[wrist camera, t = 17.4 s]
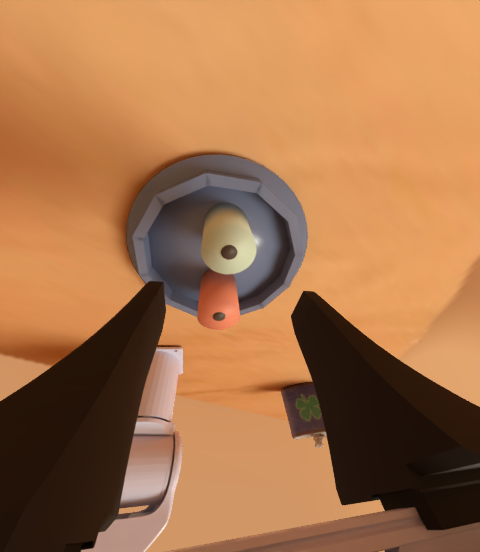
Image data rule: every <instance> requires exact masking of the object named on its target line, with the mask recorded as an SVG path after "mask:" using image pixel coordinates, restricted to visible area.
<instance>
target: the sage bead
mask: <svg viewBox="0 0 480 552" xmlns="http://www.w3.org/2000/svg"><path fill="white" fill-rule="evenodd" d="M201 255H202V258H203V261H204V262H205V264H206V265H207V266H208V267H209V268H210V269H212V270H213V271H215V272H218V273H221V274H235V273H239V272H241V271H243V270H245V269H246V268H248V267H249V266H250V265H251V264H252V262H253V261H254V259H255V256H256V244H255V241H254V238H253V235H252V232H251V229H250V226H249V223H248V220H247V218H246V215H245V213H244V212H243V210H242V209H241V208H239V207H238V206H236V205H234V204H231V203H220V204H217V205H215V206H213V207H212V208H211V209H210V210H209V211H208V213H207V214H206V216H205V220H204V229H203V237H202V246H201Z"/></svg>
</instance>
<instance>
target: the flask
mask: <svg viewBox="0 0 480 552" xmlns="http://www.w3.org/2000/svg"><path fill="white" fill-rule="evenodd" d="M281 394H282V397H283V401H284V405H285V409H286V413H287V416H288V421H289V424H290V428H291V433H292V437H293V439H296V440H297V439H302V438H308V437H314V440H315V442H316V444H315V447H323V446H324V445H323V444H322V439H323V438H324V437H325V438H327V436H325V435H326V431H325V426H324V422H323V418H322V413H321V409H320V405H319V401H318V398H317V394H316V391H315V387H314V383H313V382H309V383H302V384H297V385H293V386H287V387H285V388H282V389H281Z"/></svg>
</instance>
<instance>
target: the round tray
mask: <svg viewBox="0 0 480 552" xmlns="http://www.w3.org/2000/svg"><path fill="white" fill-rule="evenodd" d="M220 203H231V204H234V205H236V206H238V207H239V208H241V209H242V210H243V212H244V213H245V215H246V218H247V220H248V223H249V226H250V229H251V232H252V235H253V238H254V241H255V244H256V256H255V259H254V261H253V262H252V264H251V265H250V266H249V267H248V268H246V269H245V270H243V271H241V272H239V273H235V274H233V275H234V277H235V280H236V287H237V295H238V302H239V310H240V315H243V314H246V313H249V312H252V311H255V310H258V309H262V308H264V307H265V306H267V305H268V304H269V303H270V302H271V301H273V300H274V299H275V298H276V297H277V296H279V295H280V294H281V293H282V292H283V291H285V290H286V289H287V288H288V287H289V286H290V284H291V282H292V280H293V278H294V277H295V275H296V274H297V272H298V270H299V268H300V266H301V264H302V262H303V259H304V256H305V252H306V248H307V238H308V234H307V223H306V219H305V214H304V212H303V209H302V207H301V204H300V202H299V201H298V199H297V197H296V196H295V194H294V193H293V191H292V190H291V189H290V188H289V186H288V185H287V184H286V183H285V182H284V181H283V180H282V179H281V178H279V177H278V176H277V175H276V174H275V173H273V172H272V171H270V170H269V169H267V168H266V167H264V166H262V165H260V164H258V163H256V162H253V161H251V160H249V159H245V158H241V157H238V156H233V155H224V154H207V155H200V156H195V157H190V158H187V159H184V160H182V161H179V162H176V163H174V164H172V165H171V166H169V167H167V168H165V169H163V170H162V171H161V172H160V173H158V174H157V175H156V176H155V177H153V178H152V179H151V180H150V181H149V182H148V183H147V184H146V185H145V186H144V188H143V189H142V190H141V191H140V193H139V194H138V196H137V198H136V199H135V201H134V203H133V205H132V208H131V210H130V213H129V217H128V222H127V232H126V239H127V247H128V251H129V255H130V258H131V261H132V263H133V265H134V267H135V269H136V271H137V272H138V274H139V276H140V277H141V278H142V280H143V281H144V282H145V283H146V284H147V283H148V282H149V281H160V282H164V294H165V304H168V305H170V306H172V307H175V308H177V309H180V310H182V311H184V312H187V313H189V314H192V315H194V316H196V317H197V314H198V303H199V292H200V282H201V278H202V276H203V274H204V273H206V272H207V271H209V270H211V269H210V268H209V267H208V266H207V265H206V264H205V262H204V261H203V258H202V255H201V246H202V237H203V229H204V220H205V216H206V214H207V213H208V211H209V210H210V209H211V208H212V207H213V206H215V205H217V204H220Z"/></svg>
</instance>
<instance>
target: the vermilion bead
mask: <svg viewBox="0 0 480 552" xmlns="http://www.w3.org/2000/svg"><path fill="white" fill-rule="evenodd" d="M197 318H198V321H199V322H200V324H201V325H203V326H204V327H207V328H209V329H215V330H220V329H226V328H229V327H231V326H233V325H234V324H236V323H237V322H238V320H239V318H240V310H239V302H238V295H237V287H236V280H235V277H234V275H233V274H221V273H218V272H215V271H213V270H212V269H211V270H209V271H207V272H206V273H204V274H203V276H202V278H201V282H200V292H199V303H198V314H197Z"/></svg>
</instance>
